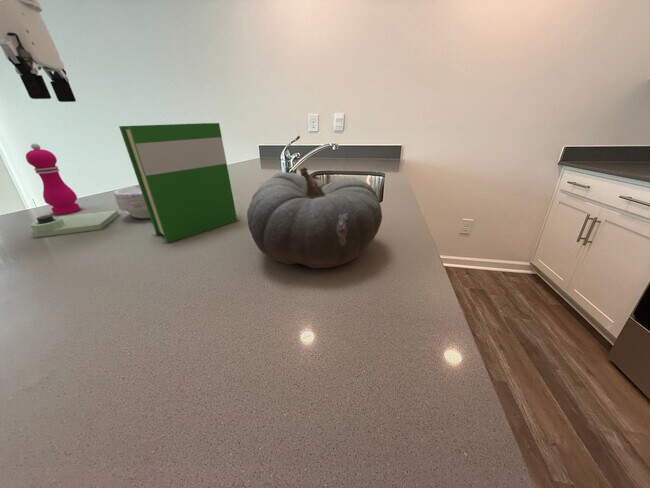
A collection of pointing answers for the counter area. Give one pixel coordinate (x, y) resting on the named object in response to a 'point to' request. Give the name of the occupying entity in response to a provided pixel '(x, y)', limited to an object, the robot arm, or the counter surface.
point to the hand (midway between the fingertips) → (55, 100)
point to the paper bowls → (132, 201)
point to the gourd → (313, 219)
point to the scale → (73, 223)
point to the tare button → (45, 219)
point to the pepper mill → (52, 181)
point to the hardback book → (181, 176)
